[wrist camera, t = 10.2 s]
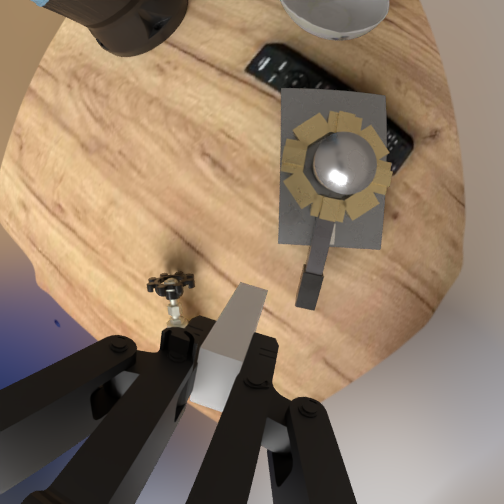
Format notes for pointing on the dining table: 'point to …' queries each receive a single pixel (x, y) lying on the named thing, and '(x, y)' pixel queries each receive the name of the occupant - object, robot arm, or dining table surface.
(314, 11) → the teacup
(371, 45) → the dining table surface
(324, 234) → the grey bar gold ring
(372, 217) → the plate
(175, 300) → the valve
